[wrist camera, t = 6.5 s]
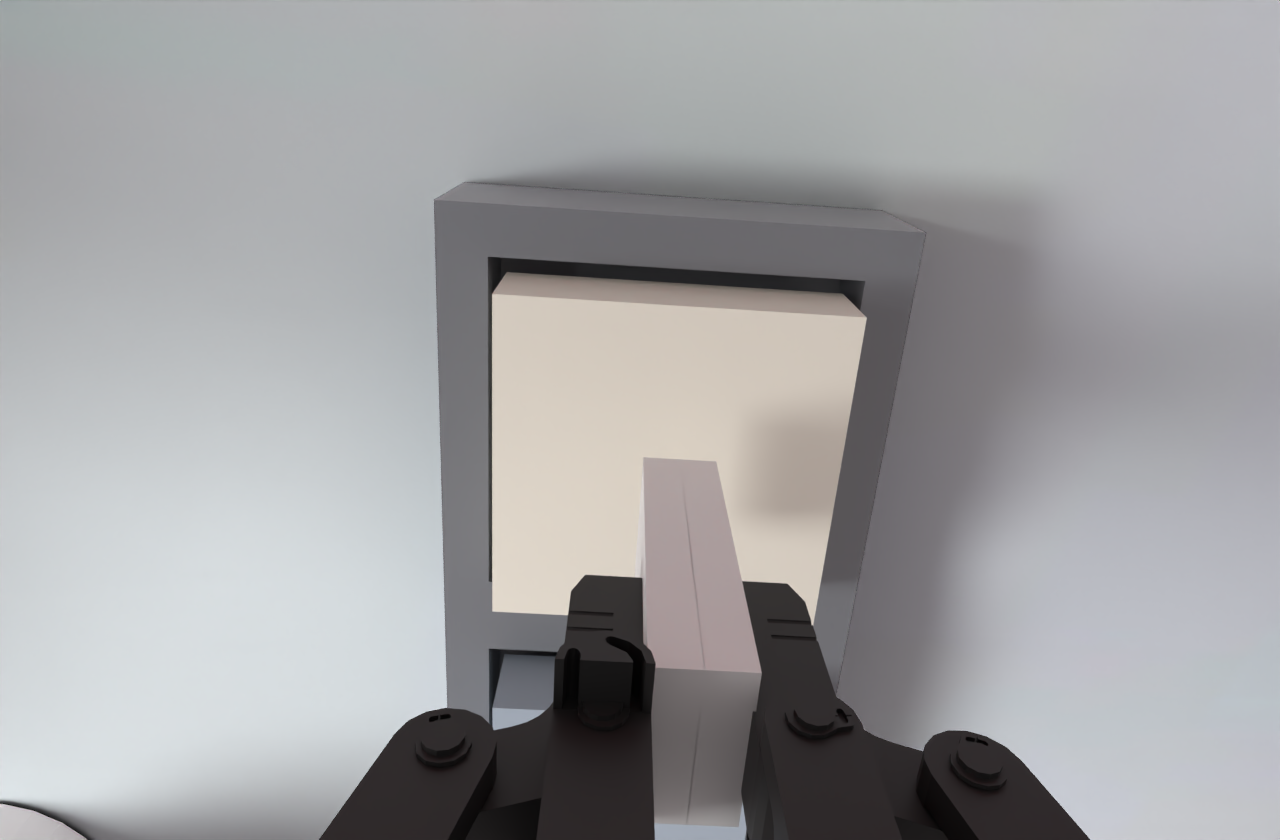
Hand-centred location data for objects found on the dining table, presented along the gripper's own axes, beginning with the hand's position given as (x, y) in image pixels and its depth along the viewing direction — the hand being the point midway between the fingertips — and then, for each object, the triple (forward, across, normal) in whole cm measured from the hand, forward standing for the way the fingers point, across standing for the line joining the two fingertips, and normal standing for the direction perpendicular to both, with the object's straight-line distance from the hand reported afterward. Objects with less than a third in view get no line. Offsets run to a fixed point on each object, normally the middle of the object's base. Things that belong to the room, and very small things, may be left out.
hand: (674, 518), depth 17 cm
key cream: (+4, 0, 0) cm, 4 cm away
